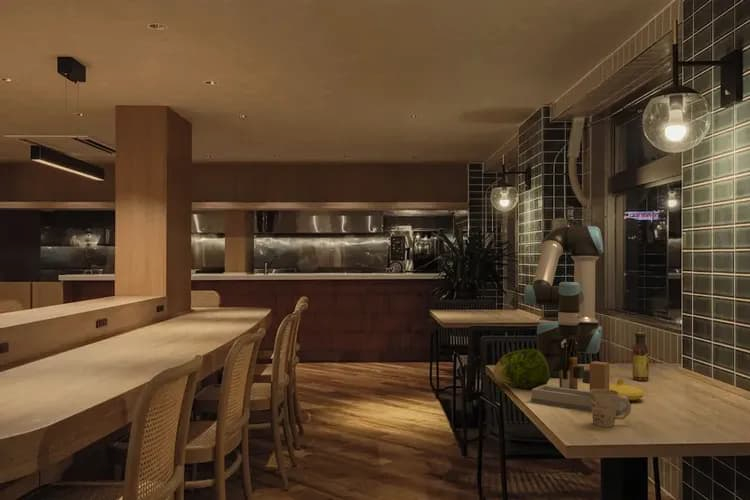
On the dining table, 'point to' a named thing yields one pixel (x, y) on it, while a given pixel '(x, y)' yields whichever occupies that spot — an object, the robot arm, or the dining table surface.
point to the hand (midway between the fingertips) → (568, 386)
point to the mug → (606, 406)
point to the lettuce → (522, 369)
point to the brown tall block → (573, 373)
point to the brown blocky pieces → (578, 391)
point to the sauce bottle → (640, 358)
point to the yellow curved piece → (626, 390)
